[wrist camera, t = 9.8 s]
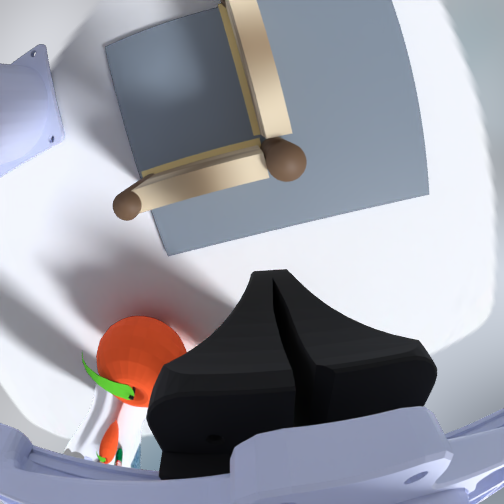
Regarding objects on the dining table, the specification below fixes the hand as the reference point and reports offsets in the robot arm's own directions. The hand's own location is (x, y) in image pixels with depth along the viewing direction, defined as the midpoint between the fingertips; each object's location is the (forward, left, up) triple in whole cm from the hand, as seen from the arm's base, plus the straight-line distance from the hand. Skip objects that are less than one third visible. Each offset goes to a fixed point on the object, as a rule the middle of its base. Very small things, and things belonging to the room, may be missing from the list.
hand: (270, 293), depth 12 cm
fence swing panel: (+2, +10, -9) cm, 13 cm away
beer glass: (-17, -14, -10) cm, 24 cm away
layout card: (+3, +7, -9) cm, 12 cm away
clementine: (-11, -7, -10) cm, 16 cm away
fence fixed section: (-2, +4, -9) cm, 10 cm away
